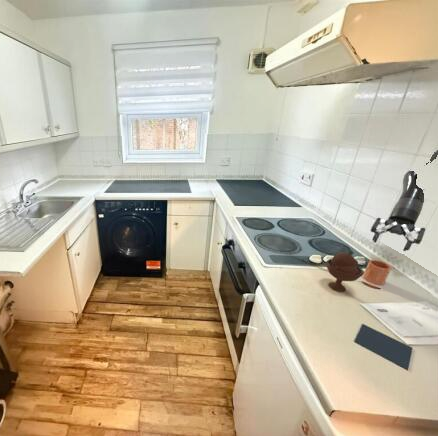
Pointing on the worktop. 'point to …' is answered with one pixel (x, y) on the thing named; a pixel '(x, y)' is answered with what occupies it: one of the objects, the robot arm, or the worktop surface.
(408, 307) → the worktop surface
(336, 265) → the ice cream bowl
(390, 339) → the place mat
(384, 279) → the terracotta cup
